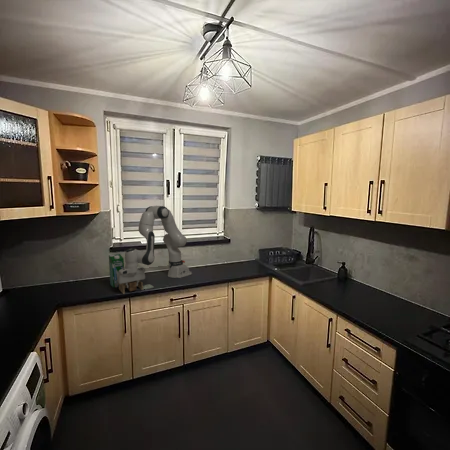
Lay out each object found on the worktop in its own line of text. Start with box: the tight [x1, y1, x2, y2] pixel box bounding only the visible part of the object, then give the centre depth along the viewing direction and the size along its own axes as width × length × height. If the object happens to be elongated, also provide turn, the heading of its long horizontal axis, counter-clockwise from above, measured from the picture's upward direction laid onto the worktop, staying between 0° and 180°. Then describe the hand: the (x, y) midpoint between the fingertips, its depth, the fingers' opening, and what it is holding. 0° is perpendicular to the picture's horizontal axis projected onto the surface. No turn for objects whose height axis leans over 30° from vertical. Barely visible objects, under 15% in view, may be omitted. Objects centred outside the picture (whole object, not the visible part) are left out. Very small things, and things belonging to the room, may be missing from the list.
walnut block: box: [127, 281, 138, 292], centre depth 198 cm, size 5×5×6 cm
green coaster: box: [143, 283, 155, 290], centre depth 206 cm, size 8×8×1 cm
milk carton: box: [108, 253, 125, 288], centre depth 210 cm, size 9×9×25 cm
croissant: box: [118, 280, 144, 295], centre depth 201 cm, size 15×12×6 cm
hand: (132, 286), depth 198 cm, fingers closed on walnut block, 5 cm apart
